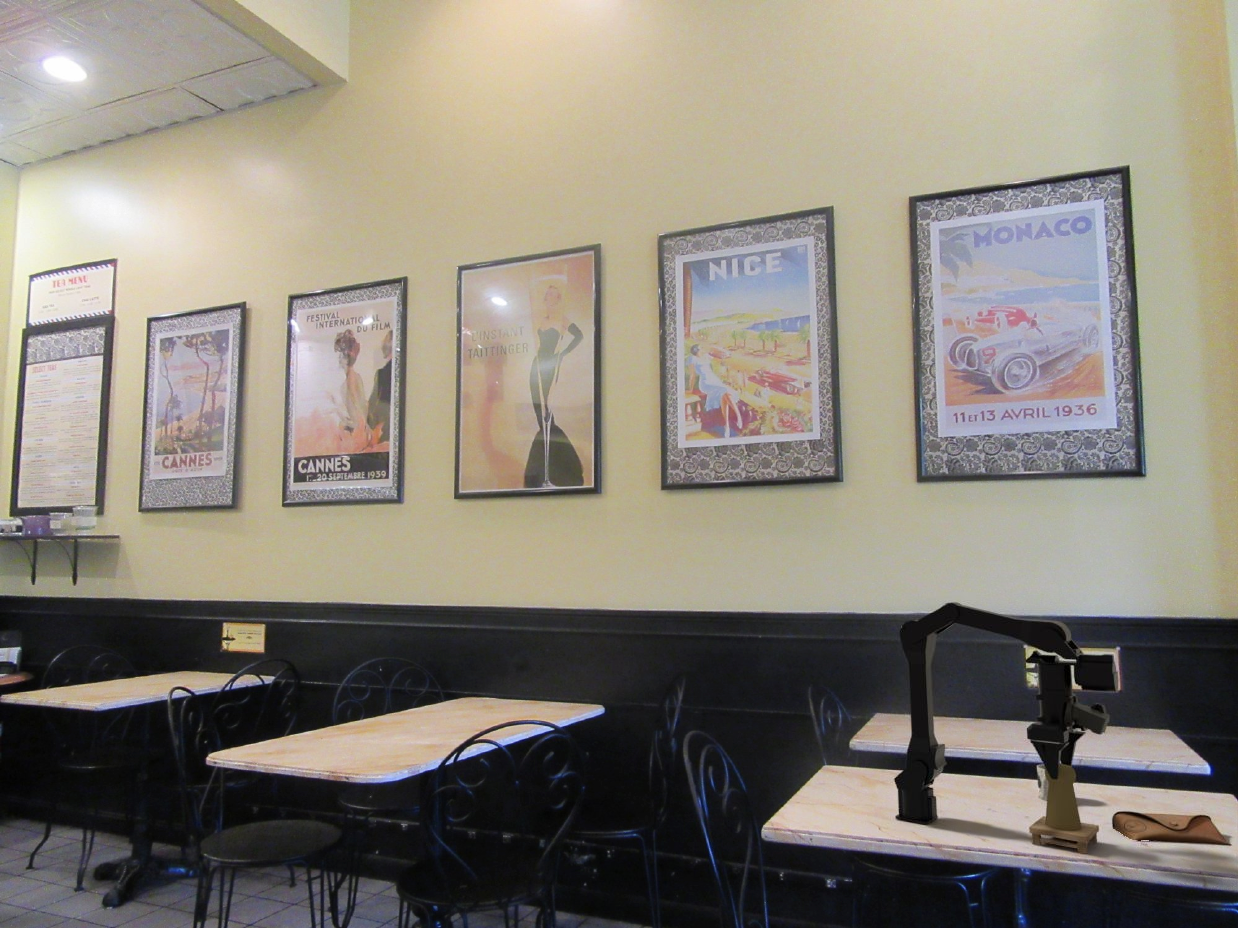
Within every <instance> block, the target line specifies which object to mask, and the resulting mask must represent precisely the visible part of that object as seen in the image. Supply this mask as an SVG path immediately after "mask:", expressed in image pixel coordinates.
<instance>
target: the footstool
mask: <svg viewBox="0 0 1238 928" xmlns="http://www.w3.org/2000/svg"><path fill="white" fill-rule="evenodd" d="M1045 820H1046V815H1043V816H1042V817H1040V818H1039V819H1038V820H1036V821H1035V822H1034V823H1033V824H1031V825H1030V826H1028V828H1029V829H1028V831H1029V833H1030V834H1031V838H1032V845H1036V846H1041V845H1042V843H1045V844H1052V845H1058V846H1062V847H1068V848H1072V849H1073V848H1074V849H1077V852H1078V853H1079V854H1083V853H1084V854H1083V855H1087V853H1088V842H1089V843H1090V844H1093V845H1095V844H1097V843H1098V832H1099V831H1100V826H1099V824H1094V823H1087V822H1081V821H1080V822H1081V827H1082V829H1081V830H1077V831H1066V830H1059V829H1054V828H1051V827H1048V826H1046V825H1045ZM1042 836H1047V837H1049V838H1046V837H1042ZM1050 837H1052V838H1057V839H1062V840H1068V841H1075V842H1077V843H1075V842H1074V843H1073V842H1068V841H1062V840H1057V839H1051V838H1050Z"/></svg>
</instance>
